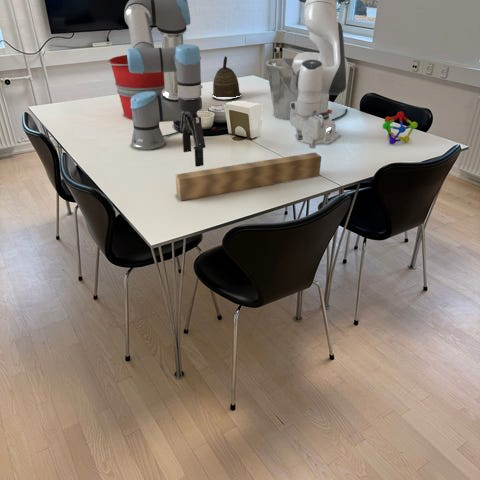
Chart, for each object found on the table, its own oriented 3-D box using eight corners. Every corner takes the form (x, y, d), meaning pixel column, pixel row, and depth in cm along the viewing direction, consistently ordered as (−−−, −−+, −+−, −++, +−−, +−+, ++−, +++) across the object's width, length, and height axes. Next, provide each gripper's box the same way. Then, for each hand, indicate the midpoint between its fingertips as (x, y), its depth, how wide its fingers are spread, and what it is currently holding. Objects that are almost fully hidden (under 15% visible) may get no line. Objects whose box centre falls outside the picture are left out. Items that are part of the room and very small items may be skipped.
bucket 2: (291, 126, 231) (295, 70, 216) (253, 114, 250) (254, 61, 235) (328, 115, 248) (333, 63, 233) (289, 104, 267) (292, 55, 252)
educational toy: (377, 146, 209) (379, 114, 202) (384, 138, 219) (386, 107, 211) (411, 149, 202) (415, 116, 195) (417, 141, 212) (420, 109, 204)
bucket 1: (123, 104, 265) (116, 50, 249) (181, 105, 264) (178, 51, 248) (106, 122, 236) (97, 62, 220) (172, 123, 235) (167, 63, 219)
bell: (227, 105, 294) (202, 96, 282) (238, 66, 289) (213, 55, 277) (243, 108, 280) (217, 98, 268) (255, 66, 275) (229, 55, 263)
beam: (180, 200, 158) (179, 179, 154) (176, 195, 162) (175, 174, 158) (319, 175, 178) (321, 156, 173) (313, 171, 181) (315, 152, 177)
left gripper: (214, 106, 135) (215, 170, 147) (189, 86, 154) (192, 144, 166) (190, 109, 132) (194, 174, 144) (168, 88, 152) (172, 147, 163)
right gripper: (331, 114, 156) (327, 151, 164) (302, 99, 172) (299, 134, 179) (316, 117, 154) (312, 154, 162) (287, 101, 170) (286, 136, 177)
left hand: (193, 158), depth 155 cm, fingers open, 13 cm apart
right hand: (305, 143), depth 171 cm, fingers open, 8 cm apart
